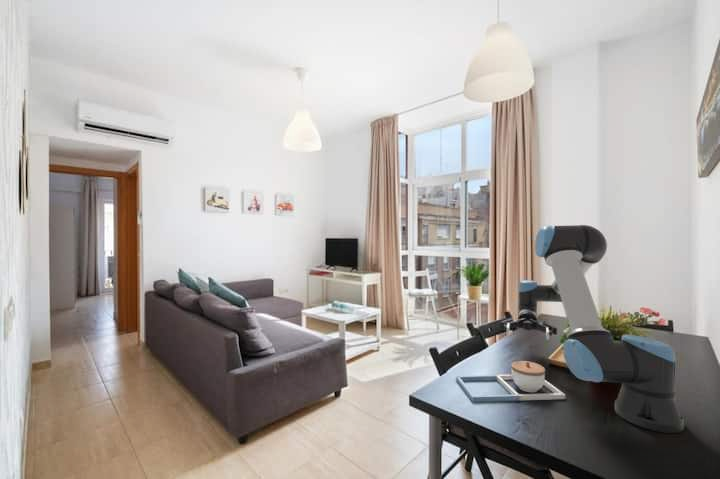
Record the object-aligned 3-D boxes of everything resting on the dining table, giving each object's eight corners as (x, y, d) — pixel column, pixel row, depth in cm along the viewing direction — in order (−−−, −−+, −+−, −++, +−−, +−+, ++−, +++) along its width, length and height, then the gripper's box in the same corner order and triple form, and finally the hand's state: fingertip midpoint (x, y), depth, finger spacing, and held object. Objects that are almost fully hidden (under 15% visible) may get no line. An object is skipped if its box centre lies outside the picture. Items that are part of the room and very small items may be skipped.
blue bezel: (519, 400, 105) (519, 395, 105) (472, 401, 105) (472, 397, 105) (496, 378, 121) (496, 374, 121) (456, 379, 121) (456, 375, 121)
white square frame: (565, 399, 106) (565, 394, 106) (517, 400, 105) (517, 395, 105) (536, 377, 122) (536, 373, 122) (495, 378, 121) (495, 374, 121)
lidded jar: (540, 383, 117) (540, 357, 117) (549, 397, 107) (549, 369, 107) (508, 380, 120) (508, 355, 120) (514, 393, 110) (514, 366, 110)
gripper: (561, 331, 136) (566, 348, 117) (496, 324, 147) (492, 338, 128) (561, 314, 135) (566, 327, 117) (496, 308, 147) (492, 319, 128)
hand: (527, 333), depth 122 cm, fingers open, 13 cm apart
